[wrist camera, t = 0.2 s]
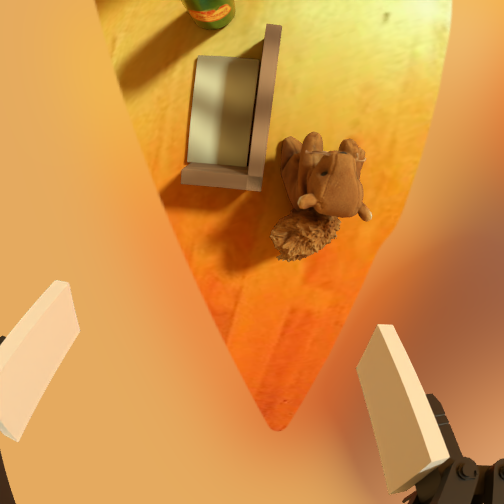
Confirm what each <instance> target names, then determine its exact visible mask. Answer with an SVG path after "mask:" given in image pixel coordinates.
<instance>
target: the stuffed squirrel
mask: <svg viewBox="0 0 504 504" xmlns="http://www.w3.org/2000/svg"><path fill="white" fill-rule="evenodd" d="M364 161H366V158H365V151H364V150H362V149H361V148H358V145H357V144H356V142H355V141H354V140H353V139H347V140H343V141H342V142H341V144H340V147H339V151H329V152H326V151H323V141H322V137H321V135H320V134H319V133H316V132H311V133H309V134H308V135H307V136H306V137H305V139H304V141H303V144H302V143H300V142H299V141H298V140H296V139H295V138H293V137H292V136H290V137H288V138H285V140H284V142H283V146H282V156H281V176H282V178H283V181H284V184H285V187H286V191H287V194H288V197H289V199H290V201H291V204H292V205H293V207H294V208H293V209H292V210H291V213H290V215H288V216H285V217H284V218H281V219H279V222H278V223H277V224H276V226H274V229H273V230H272V231H271V235H270V238H271V240H272V241H273V243H274V245H275V247H276V248H277V250H280V252H281V255H280V256H278V257H276V258H278V260H280V259H283V260H282V261H284V260H287V262H290V261H291V260H293V261H295V260H297V259H298V260H301V259H302V258H306V257H307V256H309V255H311V254H313V253H314V252H316V253H318V250H321V249H323V247H324V246H325V245H326V244H329V243H331V241H330V240H331V239H333V238H334V239H335V237H337V235H336V231H338V230H339V229H340V228H339V226H340V223H341V221H340V220H339V219H337V217H341V218H344V217H352V216H354V215H356V214H357V213H358V214H359V216H360V217H361V219H362V220H364V221H369V220H370V219H371V218H372V214H371V212H370V210H369V209H368V208H367V206H366V205H365V204H364V203H363V202H362V200H363V186H362V184H361V182H360V171H361V168H362V165H363V162H364ZM336 239H337V238H336Z"/></svg>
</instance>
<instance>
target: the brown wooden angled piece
mask: <svg viewBox="0 0 504 504" xmlns="http://www.w3.org/2000/svg"><path fill="white" fill-rule="evenodd" d="M281 31H282V26H280V25H273V24H267V25H266V32H265V38H264V46H263V53H262V61H261V69H260V77H259V85H258V92H257V101H256V109H255V117H254V125H253V133H252V141H251V150H250V158H249V167H248V166H247V157H248V148H249V140H250V132H251V123H252V115H253V107H254V99H255V91H256V83H257V75H258V67H259V60H258V59H248V58H237V57H222V56H200V55H198V61H197V68H196V76H195V84H194V93H193V102H192V112H191V122H190V133H189V145H188V157H187V162H191V163H190V164H188V165H187V166H186V167H184V168H183V169H182V173H181V184H188V185H200V186H211V187H222V188H232V189H241V190H251V191H259V192H261V187H262V179H263V171H264V164H265V156H266V148H267V140H268V132H269V125H270V117H271V109H272V101H273V93H274V86H275V78H276V70H277V62H278V54H279V46H280V38H281Z"/></svg>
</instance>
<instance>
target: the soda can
mask: <svg viewBox="0 0 504 504" xmlns="http://www.w3.org/2000/svg"><path fill="white" fill-rule="evenodd" d="M181 2H182V3H183V5H184V6H185V8H186V9H187V11H188V12H189V14H190V16H191V17H192V19H193V20H194V22H195V23H196V24H197V25H198V26H200V27H202V28H204V29H211V30H212V29H219V28H222V27H224V26H226V25H227V24H229V23H230V22H231V20H232V19H233V17H234V15H235V4H234V0H181Z"/></svg>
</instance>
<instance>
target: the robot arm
mask: <svg viewBox="0 0 504 504" xmlns="http://www.w3.org/2000/svg"><path fill="white" fill-rule="evenodd" d="M79 332H80V328H79V325H78V321H77V316H76V312H75V308H74V304H73V299H72V294H71V289H70V284H69V283H68V282H63V281H59V280H55V281H54V282H53V283H52V284H51V286H49V287H48V289H47V290H46V291H45V292H44V293H43V294H42V295H41V296H40V298H39V299H38V300H37V301H36V302H35V303H34V304H33V306H32V307H31V308H30V309H29V310H28V312H27V313H26V314H25V315H24V316H23V317H22V319H21V320H20V321H19V322H18V323H17V325H16V326H15V327H14V329H13V330H12V331H11V332H10V333H9V335H8V336H7V337H4V336H1V337H0V431H1V432H2V433H3V434H4V435H6V436H7V437H9V438H11V439H13V440H15V441H17V442H19V440H20V438H21V436H22V434H23V432H24V429H25V428H26V426H27V424H28V421H29V420H30V417H31V415H32V414H33V412H34V410H35V408H36V406H37V404H38V402H39V400H40V399H41V397H42V395H43V393H44V391H45V389H46V388H47V386H48V384H49V382H50V380H51V379H52V377H53V375H54V373H55V372H56V370H57V368H58V367H59V365H60V363H61V361H62V360H63V358H64V356H65V355H66V353H67V351H68V350H69V348H70V347H71V345H72V343H73V342H74V340H75V339H76V337H77V335H78V334H79ZM356 370H357V373H358V377H359V380H360V384H361V387H362V390H363V394H364V397H365V401H366V405H367V408H368V412H369V416H370V419H371V423H372V427H373V430H374V434H375V438H376V442H377V446H378V450H379V454H380V458H381V462H382V467H383V471H384V475H385V480H386V484H387V489H388V494H389V495H390V494H395V493H399V492H404V491H407V490H408V489H410V488H411V487H412V486H414V485H415V486H416V491H415V492H413V493H412V494H410V495H409V496H407V497H406V498H404V500H403V501H402V502H403V503H405V502H406V501H408V500H409V499H410V500H409V503H408V504H483V503H484V504H504V459H500V460H499V461H497V462H496V463H495V464H493V465H492V466H481V465H476V463H475V462H474V461H473V460H471V459H470V458H467V457H463V456H462V453H461V451H460V449H459V446H458V443H457V441H456V438H455V436H454V433H453V431H452V429H451V426H450V424H448V423H449V421H448V419H447V417H446V416H445V412H444V410H443V407H442V405H441V403H440V402H439V401H438V400H437V398H436V397H435V396H434V395H433V394H425V393H424V391H423V388H422V386H421V384H420V382H419V379H418V377H417V375H416V373H415V370H414V368H413V366H412V364H411V362H410V360H409V357H408V355H407V353H406V351H405V349H404V347H403V345H402V343H401V341H400V339H399V337H398V335H397V333H396V331H395V329H394V327H393V325H383V324H378V325H377V326H376V329H375V331H374V333H373V335H372V337H371V339H370V342H369V344H368V346H367V348H366V350H365V352H364V354H363V356H362V358H361V360H360V362H359V364H358V366H357V367H356ZM0 504H16V503H15V500H14V498H13V495H12V492H11V488H10V485H9V482H8V478H7V475H6V471H5V468H4V464H3V460H2V456H1V451H0Z"/></svg>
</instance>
